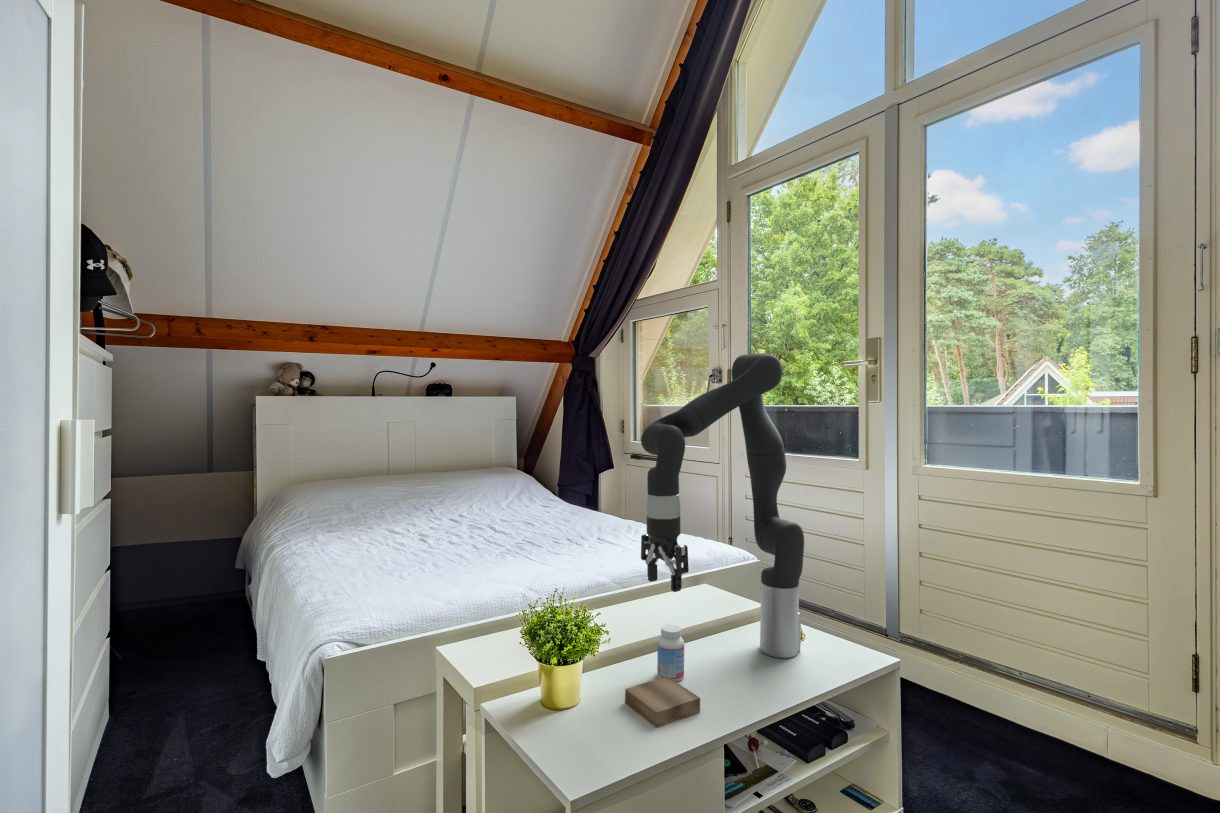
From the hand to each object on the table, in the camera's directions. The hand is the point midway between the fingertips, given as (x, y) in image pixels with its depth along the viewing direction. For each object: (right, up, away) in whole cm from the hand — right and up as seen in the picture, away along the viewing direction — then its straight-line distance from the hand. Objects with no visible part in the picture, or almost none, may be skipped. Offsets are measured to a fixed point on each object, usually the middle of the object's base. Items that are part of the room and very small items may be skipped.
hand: (664, 585), depth 137 cm
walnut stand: (-1, -22, -11) cm, 25 cm away
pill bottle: (+2, -22, +3) cm, 22 cm away
